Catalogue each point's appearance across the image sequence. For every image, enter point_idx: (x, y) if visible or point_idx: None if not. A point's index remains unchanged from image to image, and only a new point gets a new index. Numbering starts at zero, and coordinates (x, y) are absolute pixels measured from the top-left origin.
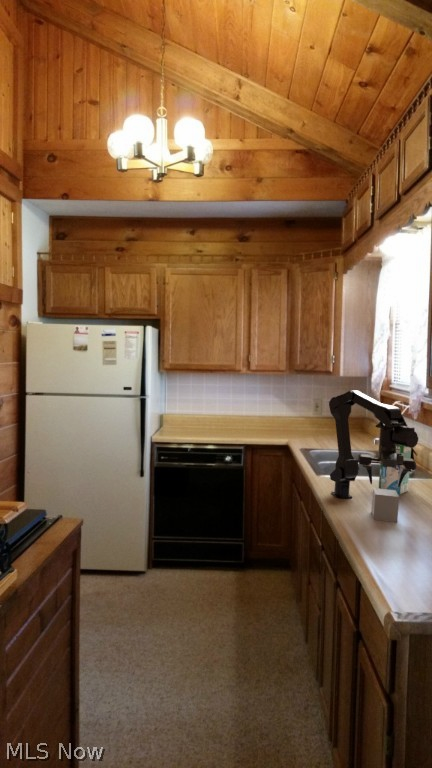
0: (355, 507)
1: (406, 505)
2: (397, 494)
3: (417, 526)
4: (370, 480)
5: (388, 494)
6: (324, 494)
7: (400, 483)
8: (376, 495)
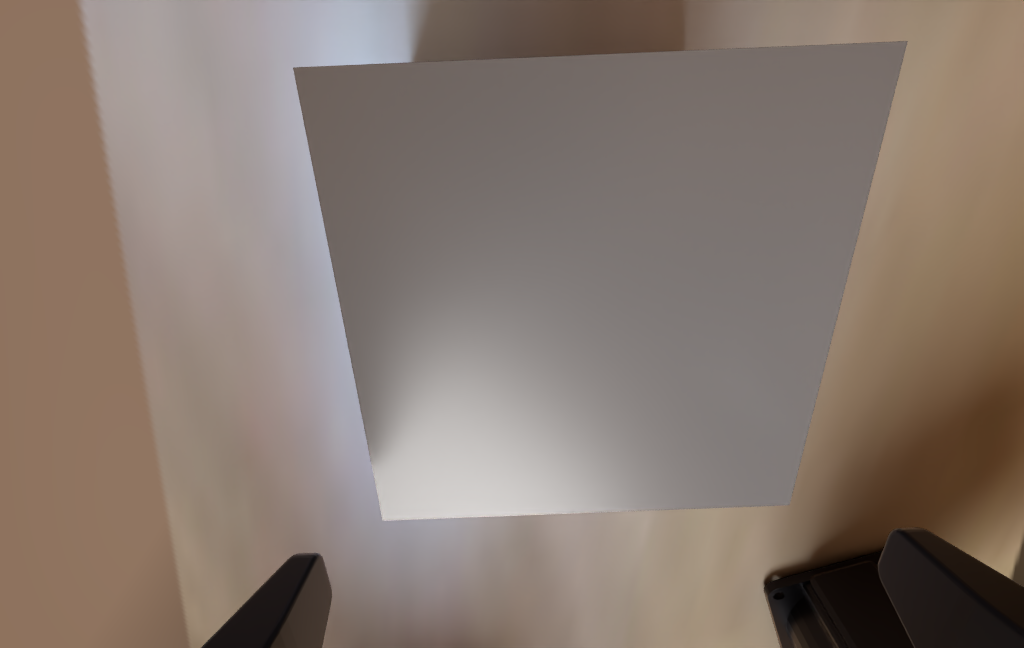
0: None
1: None
2: (345, 273)
3: (176, 19)
4: (1020, 598)
5: (553, 180)
6: None
7: (226, 630)
8: (857, 47)
